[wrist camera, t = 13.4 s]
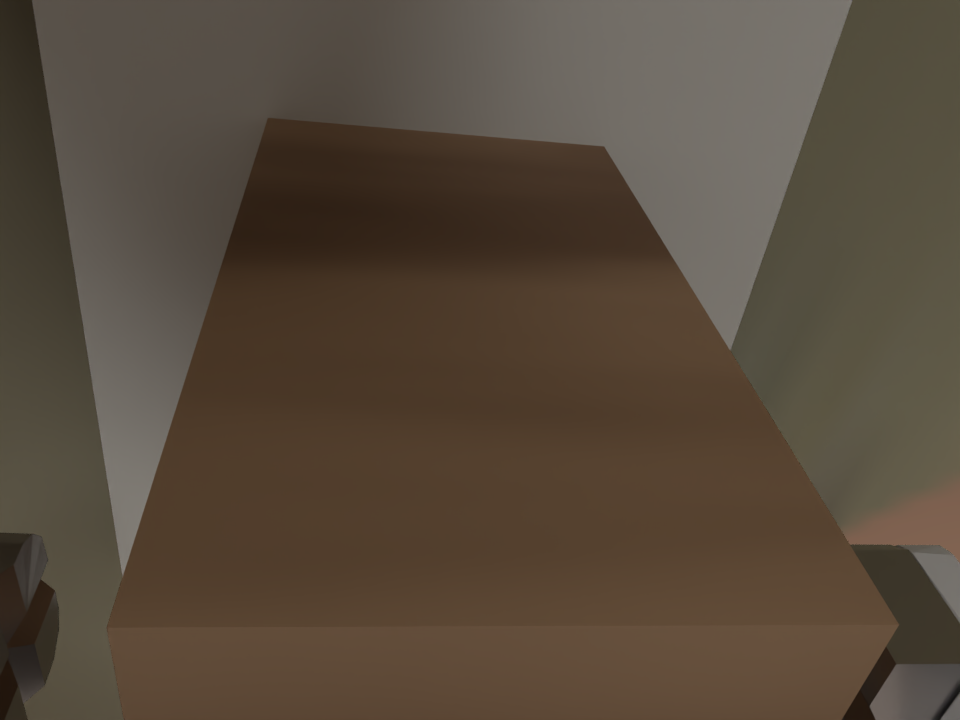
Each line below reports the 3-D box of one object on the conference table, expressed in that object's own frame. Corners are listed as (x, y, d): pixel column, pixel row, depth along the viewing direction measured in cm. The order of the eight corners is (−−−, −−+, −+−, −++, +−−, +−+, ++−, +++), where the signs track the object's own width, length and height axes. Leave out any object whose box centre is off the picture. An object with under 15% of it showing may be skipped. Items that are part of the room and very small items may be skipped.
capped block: (268, 117, 11) (107, 626, 4) (603, 146, 12) (899, 625, 5) (274, 489, 15) (191, 1076, 8) (531, 495, 15) (648, 1038, 9)
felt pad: (32, -161, 10) (7, -157, 9) (838, -54, 11) (867, -44, 11) (135, 564, 16) (125, 597, 16) (633, 569, 18) (643, 599, 17)
